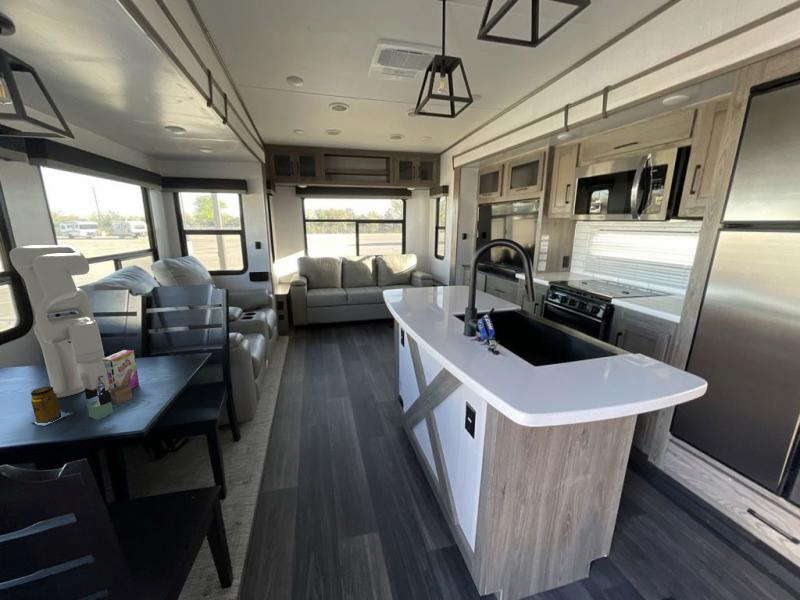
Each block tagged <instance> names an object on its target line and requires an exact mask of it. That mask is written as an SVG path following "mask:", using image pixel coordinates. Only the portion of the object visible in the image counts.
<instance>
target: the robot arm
mask: <svg viewBox="0 0 800 600" xmlns="http://www.w3.org/2000/svg"><path fill="white" fill-rule="evenodd" d="M9 258H10V262H11V264H12V266H13V267H14V269H15V270H16V271H17V273H18V274H19V275H20V276H21V277H22V278H23V280H24V282H25V284H26V288H27V292H28V296H29V298H30V302H31V305H32V308H33V310H34V312H35V313H34V319H35V324H34V326H33V332H34V335H35V337H36V339H37V341H38V343H39V345H40V348H41V350H42V351H41V352H42V354H43V358H44V363H45V367H46V371H47V375H48V380H49V384H50V387H53V390H54V393H55V394H56V396H57V399H60V398H65V397H66V398H67V397H69V396H73V395H77V394H80V393H82V392H84V395H85V398H86V400H90V399H94V398H96V397H97V398H98V400H99V402H100V405H104V404H107V403H109V402H111V403H112V399H111V394H110V387H109V381H108V376H107V372H106V368H105V365H104V362H103V358H105V357H106V356H105V351H104V347H103V343H102V338H101V334H100V329H99V324H98V322H97V321H96V319H95V316H94V313H93V309H92V305H91V302H90V299H89V296H88V294H87V292H86V291H85V290H83V288H79V287H77V285H76V283H75V281H74V279H73V276H83V275H86V274H88V273H89V271H90V265H89V260H88V259H87V258H86V256H85V255H84V254H83V253H82V252H81V251H79V249H77V248H76V247H74V246H72V245H68V244H53V245H45V244H44V245H43V244H42V245H23V246H18V247H14V248H12V249H11V250H10V251H9ZM69 312H71V313H72V312H75V314H68V315H61V316H55V317H49V316H48V315H57V314H63V313H69ZM48 317H49V318H48Z"/></svg>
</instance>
